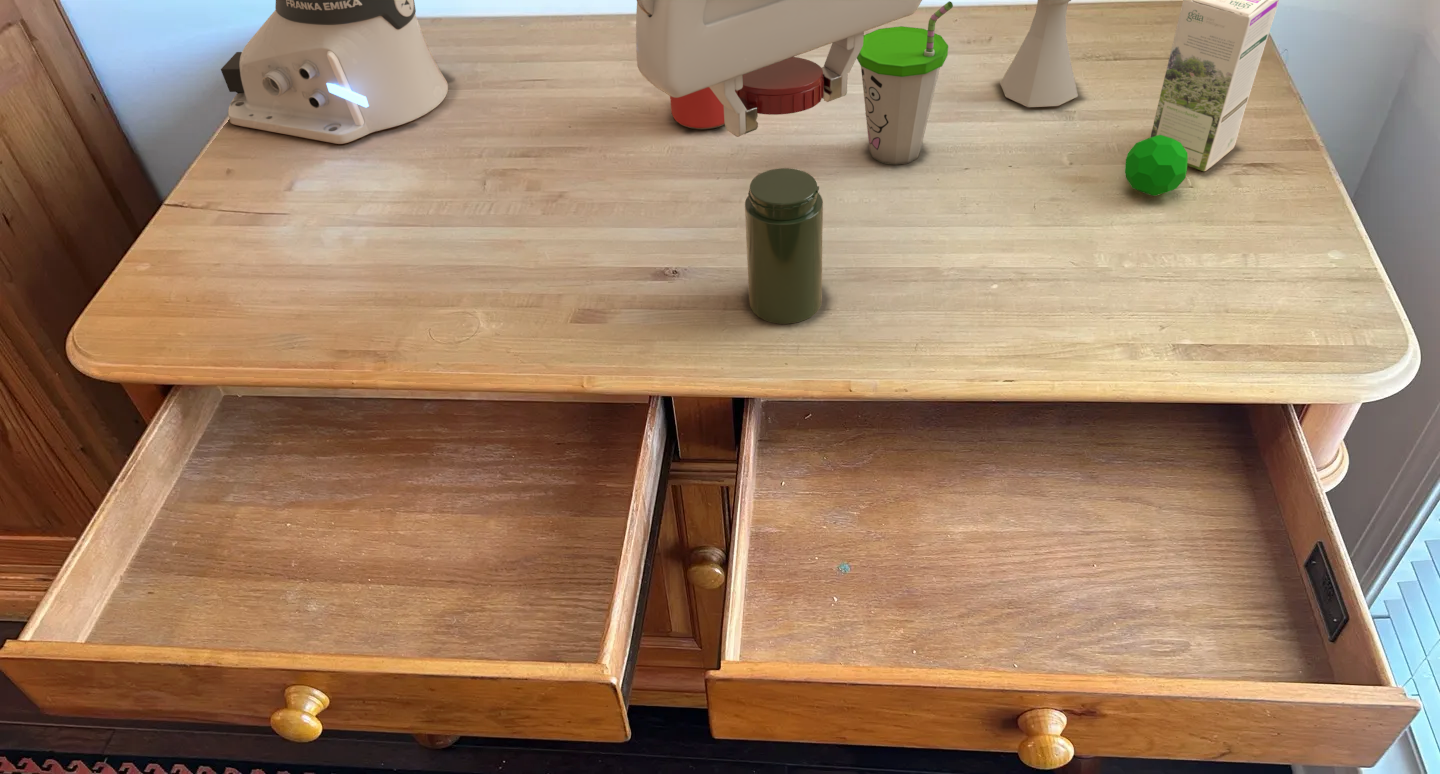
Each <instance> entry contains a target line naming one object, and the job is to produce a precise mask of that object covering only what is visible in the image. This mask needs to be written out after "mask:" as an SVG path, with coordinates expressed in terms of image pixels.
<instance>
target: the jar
mask: <svg viewBox="0 0 1440 774" xmlns="http://www.w3.org/2000/svg"><path fill="white" fill-rule="evenodd" d="M819 190H820V186H819V185H818V182H817V180H816V178H814V176H813V175H812V174H810V173H808V172H806V171H805V170H801V169H797V168H789V167H779V168H772V169H769V170H765V171H763V172H761V173H759V174H757V175H756V176H755V177H754V178H753V179H752V180H751V182H750V184H749V190H748V193H747V197H746V198H745V201H744V216H745V219H744V220H745V238H746V257H747V258H746V260H747V261H746V262H747V263H746V264H747V281H748V283H747V284H748V304H749V307H750V309H751V311H752V313H753V314H754V315H755V316H756V317H758V318H760V319H761V320H764V321H766V322H769V323H772V324H779V325H780V324H781V325H788V324H796V323H800V322H804V321H806V320H808V319H810V318H812V317H813V316H814V315H816V313H818V311H819V310H820V308H821V306H822V297H823V295H822V294H823V229H824V228H823V225H824V224H823V222H824V220H823V219H824V218H823V215H824V201H823V198H822V195H821V194H820V192H819Z"/></svg>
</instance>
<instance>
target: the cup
mask: <svg viewBox="0 0 1440 774" xmlns="http://www.w3.org/2000/svg"><path fill="white" fill-rule="evenodd" d="M953 7H954V4H953V2H952V1H948V2H946V3H945V4H944V5H943V6H941V7H940V8H938V10H937V11H935V12H934V13H933V14H931V16H930V18H929V19H928V24H927V29H925V28H922V27H921V28H920V27H910V26H901V25H900V26H892V27H891V26H890V27H884V28H878V29H875V30H873V31H870V32H868V33H866V34H864V38H863V47H862V49H861V51H860V53H859V54H858V56H857V58H856V60H857V62H858V63H859V65H860V70H861V71H860V72H861V80H862V90H863V98H864V99H863V100H864V109H865V110H864V111H865V120H866V128H867V138H868V140H867V141H868V148H869V153H870V155H871V158H872V159H874V160H876V161H877V162H879V163H880V164H885V165H892V166H898V165H907V164H910V163H911V162H913V161H916V160H918V157H919V156H920V154H921V150H922V145H923V142H924V139H925V134H926V129H927V124H928V120H929V116H930V113H931V107H932V103H933V100H934V99H933V98H934V95H935V91H936V87H937V82H938V78H939V74H940V69H941V68H942V67H943V65H944V64H945V62H946V60H947V58H948V53H949V45H948V43H947V42H946V40H945V38H943V36H942V35H940V34H938V33H935V32H936V31H935V30H936V22H937V20H938V19H940V18H941V17H943V16H944V15H945V14H947V13H948V12H949V11H951V9H953Z"/></svg>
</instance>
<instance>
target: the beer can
mask: <svg viewBox="0 0 1440 774" xmlns="http://www.w3.org/2000/svg"><path fill="white" fill-rule="evenodd" d="M669 100H670V110H671V115H672V117H673V119H674V121H675V122H677V123H678V124H680V126H683V127H686V128H689V129H693V130H711V129H716V128H717V129H718V128H720V127H722V126H725V123H724V105H723V104H722V103H721V102H720V101H719V99H718V98H717V97H716V95H715V94H714V93H713V91H712V90H711V89H710V87H707V88H705V89H702V90H699V91H696V92H693V93H691V94H688V95H685V96H682V97H678V98H675V97H671V96H669Z"/></svg>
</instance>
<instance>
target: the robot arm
mask: <svg viewBox="0 0 1440 774" xmlns="http://www.w3.org/2000/svg"><path fill="white" fill-rule="evenodd" d="M922 2H923V0H636V15H635V48H636V63H637V68H638V71H639V73H640V74H641V75H642V76H643V78H645V80H646V81H648V82H649V83H650V84H651V85H653V86H654V87H655V88H657V89H658V90H660V91H661V92H662V93H665V95H668V96H669V97H670V96H671V97H675V98H678V97H682V96H685V95H688V94H691V93H693V92H696V91H699V90H702V89H705V88H707V87H710V89H711V90H712V91H713V93H714V94H715V95H716V97H717V98H718V99H719V101H720V102H721V103H722V104H723V105H724V123H725V125H724V126H725V128H726V130H727V131H728V132H729V133H731V134H732V135H734V136H735V137H738V138H739V137H740V136H744V135H746V134H749V133H752V132H753V131H756V130H758V128H759V122H758V120H757V119H758V117H759V116H758V115H759V114H758V111H757V107H756V106H755V105H753V104H752V103H748V101H746V100H745V99H743V98H741V97H740V98H739V97H738V95H737V94H736V92H735V90H740V89H742V87H743V75H744V74H747V73H749V72H752V71H755V70H758V69H761V68H763V67H766V66H769V65H772V64H775V63H777V62H780V61H783V60H786V59H789V58H791V57H798V56H799V55H802V54H805V53H808V52H811V51H813V50H817V49H820V48H822V47H825V46H827V45H830V48H829V51H828V53H827V56H826V59H825V62H824V64H823V66H822V67H821V68H822V70H823V77H824V78H823V81H824V93H823V97H822V100H823V101H824V102H825V103H829V102H832V101H835V100H837V99H840V98H843V97H845V96H847V94H848V81H849V79H848V78H849V77H848V76H849V73H850V72H851V71H852V68H853V66H854V65H855V62H856V60H857V56H858V54H859V53H860V51H861V49H862V47H863V38H864V35H865V32H867V31H870V30H873V29H875V28H878V27H881V26H884V25H886V24H890V23H892V22H895V21H898V20H901V19H903V18H906V17H910V16H912V15H914V13H916V11H917V10H918V8H919V6H920V5H921V3H922ZM274 8H275V10H274V11H273V12H272V13H271V14H270V16H269V17H268V18H267V19H266V20H265V22H263V24H262V25H261V26H260V27H259V29H258V30H257V31H256V32H255V33H254V34H253V36H252V37H251V38H249V40H248V42H247V43H246V44H245V45H244V48H243V50H242V51H236V52H235V53H234V54H233V55H232V57H230V58H229V59H228V61H227V62H226V63H225V64H224V65H223V66H222V67H221V68H220V71H221V74H222V77H223V79H224V82H225V84H226V86H227V89H228V92H229V93H236V95H235V96H234V97H233V99H232V100H231V101H230V103H229V105H228V110H227V113H228V114H227V115H228V118H229V122H230V124H231V125H235V126H240V127H244V128H250V129H254V130H255V129H256V130H261V131H266V132H270V133H271V132H272V133H275V134H276V133H277V134H281V135H288V136H293V137H299V138H303V139H309V140H314V141H320V142H324V143H325V142H326V143H331V144H335V145H337V144H338V145H343V144H347V143H350V142H354V141H356V140H358V139H360V138H363V137H366V136H367V135H369V134H372V133H375V132H378V131H383V130H387V129H391V128H396V127H398V126H401V125H405V124H407V123H410V122H413V121H415V120H418V119H419V118H421V117H423V116H425V115H426V114H429V113H430V112H432V111H433V110H434V109H436V108H437V107H438V106H439V105H440V104H441V103H442V102H443V101H444V100H445V99H446V97H447V95H448V91H449V83H448V81H447V80H446V78H445V76H444V75H443V73H442V72H441V70H440V68H439V66H438V64H437V63H436V62H437V61H435V58H434V57H433V54H432V51H431V49H430V48H429V45H428V42H427V40H426V38H425V36H424V33H423V31H422V28H421V25H420V23H419V20H418V17H417V14H416V11H417V9H416V4H415V0H275V7H274Z"/></svg>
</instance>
